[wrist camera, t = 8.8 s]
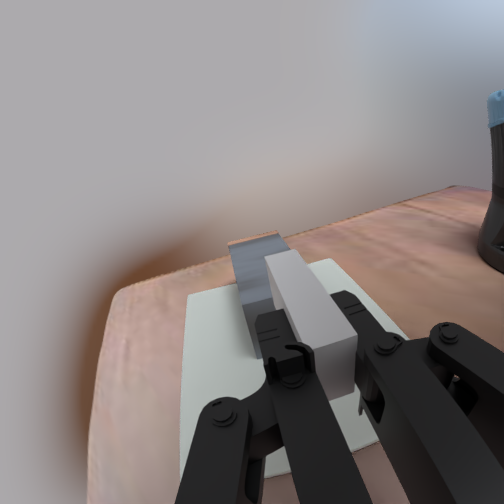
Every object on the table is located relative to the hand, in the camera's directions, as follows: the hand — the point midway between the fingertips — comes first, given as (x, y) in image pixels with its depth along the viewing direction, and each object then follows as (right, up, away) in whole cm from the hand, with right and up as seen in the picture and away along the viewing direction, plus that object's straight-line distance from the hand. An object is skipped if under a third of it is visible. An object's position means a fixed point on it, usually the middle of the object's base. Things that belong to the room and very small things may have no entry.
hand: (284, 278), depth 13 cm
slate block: (+1, -5, +9) cm, 10 cm away
